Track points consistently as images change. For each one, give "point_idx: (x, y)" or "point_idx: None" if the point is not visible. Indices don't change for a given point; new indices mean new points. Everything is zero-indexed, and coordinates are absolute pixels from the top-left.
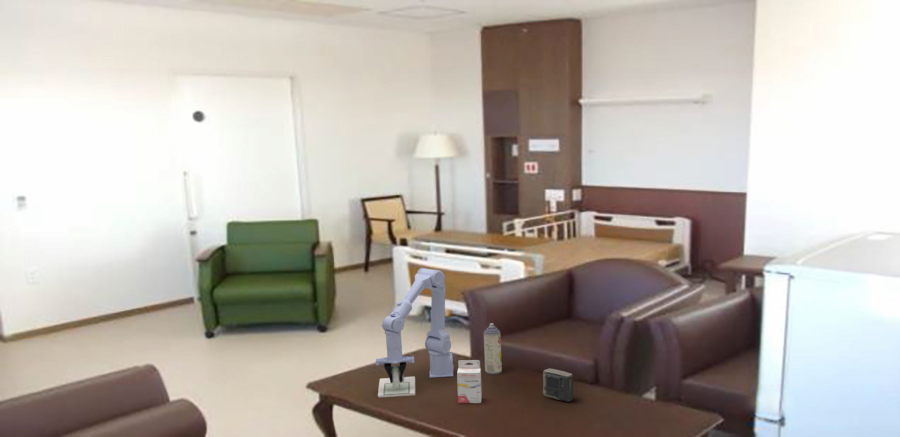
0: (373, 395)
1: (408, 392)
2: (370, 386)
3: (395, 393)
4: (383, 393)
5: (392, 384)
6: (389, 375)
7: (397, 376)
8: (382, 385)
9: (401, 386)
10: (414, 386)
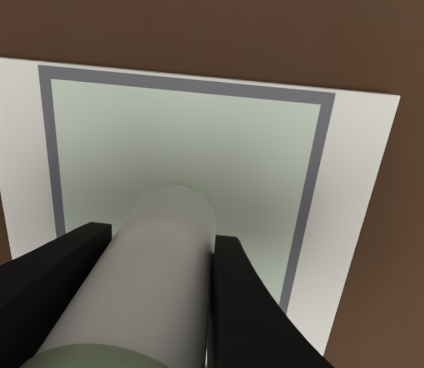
0: (416, 167)
1: (51, 88)
2: (386, 358)
3: (196, 97)
4: (325, 140)
5: None
6: (260, 301)
7: (109, 268)
8: (299, 329)
9: None
10: (12, 235)
